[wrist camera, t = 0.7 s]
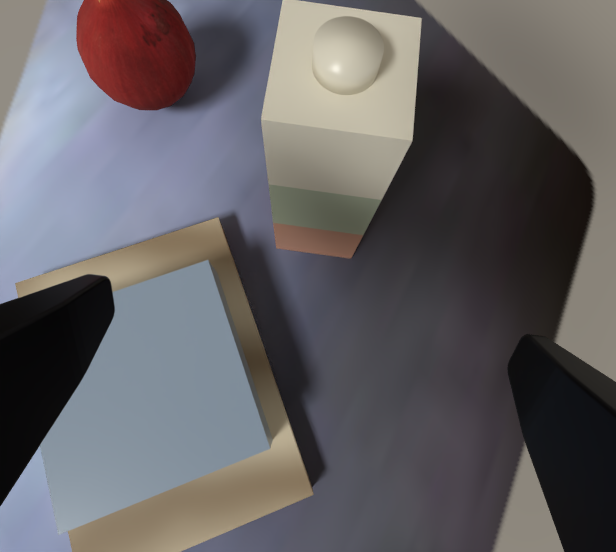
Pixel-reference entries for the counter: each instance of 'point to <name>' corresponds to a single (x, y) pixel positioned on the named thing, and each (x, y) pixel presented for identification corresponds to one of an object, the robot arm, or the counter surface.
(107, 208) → the counter surface
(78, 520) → the base brick
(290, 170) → the brick column
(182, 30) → the onion
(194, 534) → the board
